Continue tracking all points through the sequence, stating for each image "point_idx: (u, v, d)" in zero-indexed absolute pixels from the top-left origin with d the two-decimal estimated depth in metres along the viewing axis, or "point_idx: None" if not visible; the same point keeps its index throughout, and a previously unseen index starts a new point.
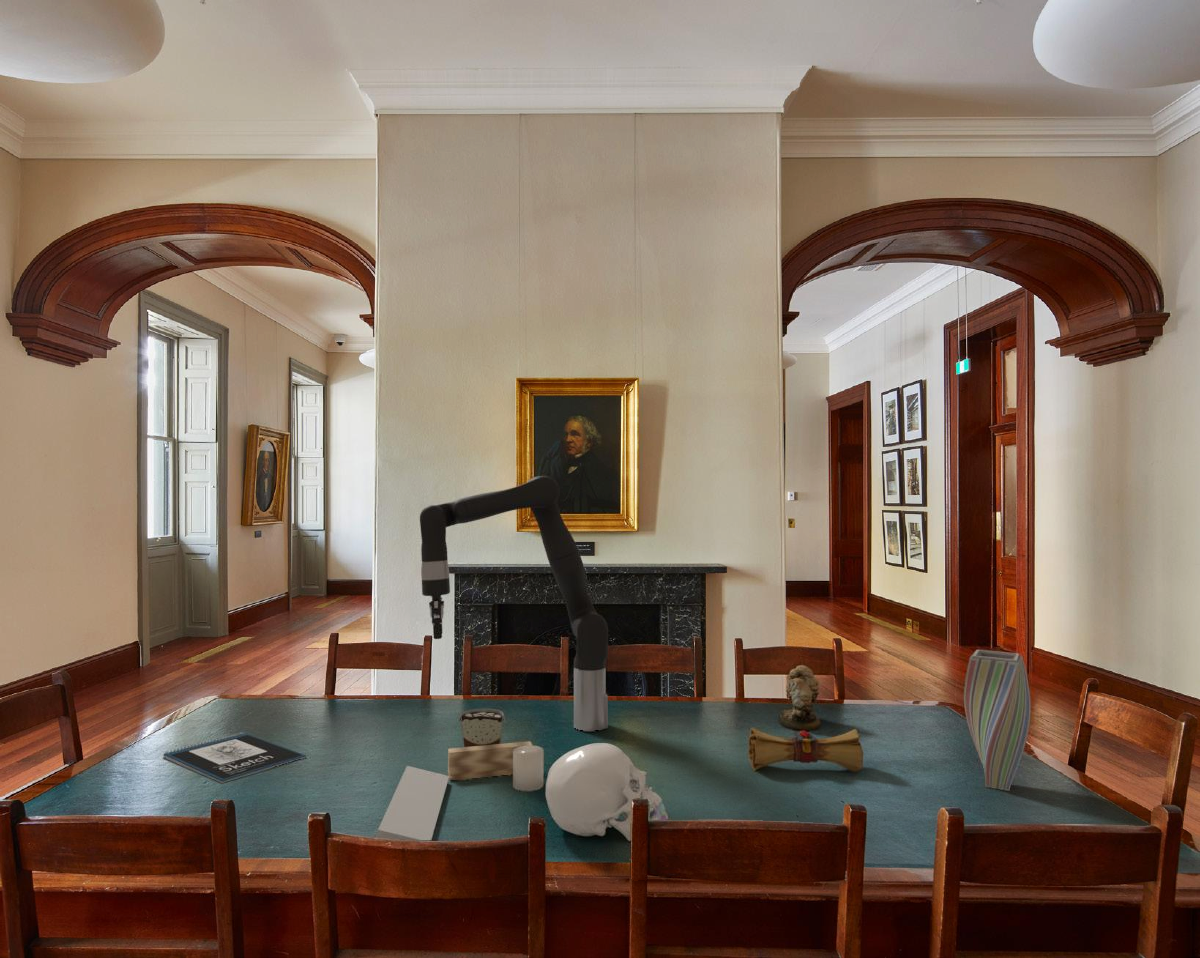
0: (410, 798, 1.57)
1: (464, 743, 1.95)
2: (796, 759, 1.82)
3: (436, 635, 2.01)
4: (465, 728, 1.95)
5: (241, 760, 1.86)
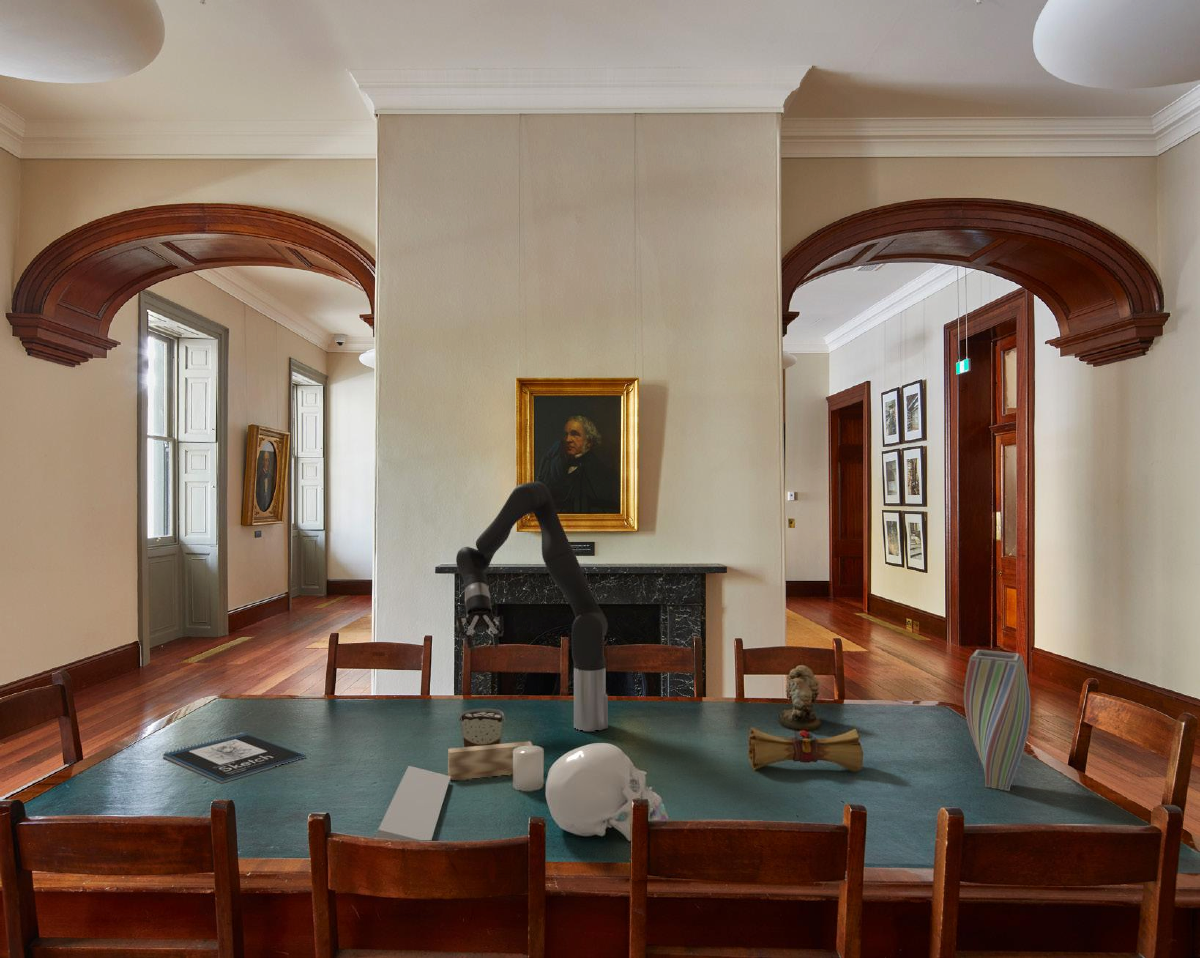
0: (411, 798, 1.57)
1: (464, 743, 1.95)
2: (796, 759, 1.82)
3: (467, 646, 2.15)
4: (465, 728, 1.95)
5: (241, 760, 1.86)
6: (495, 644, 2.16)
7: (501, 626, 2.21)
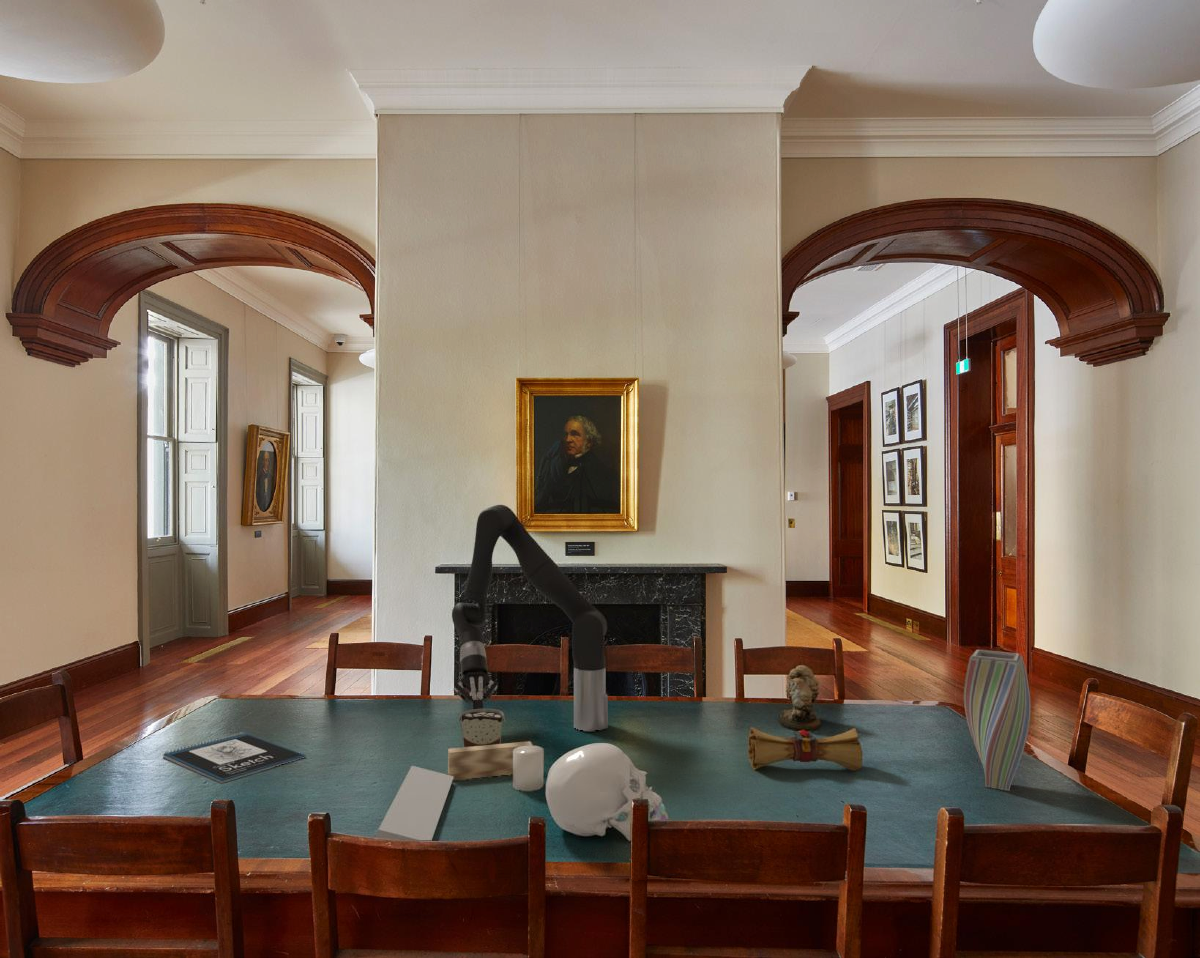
0: (413, 798, 1.57)
1: (464, 743, 1.95)
2: (796, 758, 1.82)
3: None
4: (465, 728, 1.95)
5: (241, 760, 1.87)
6: None
7: (488, 691, 2.12)
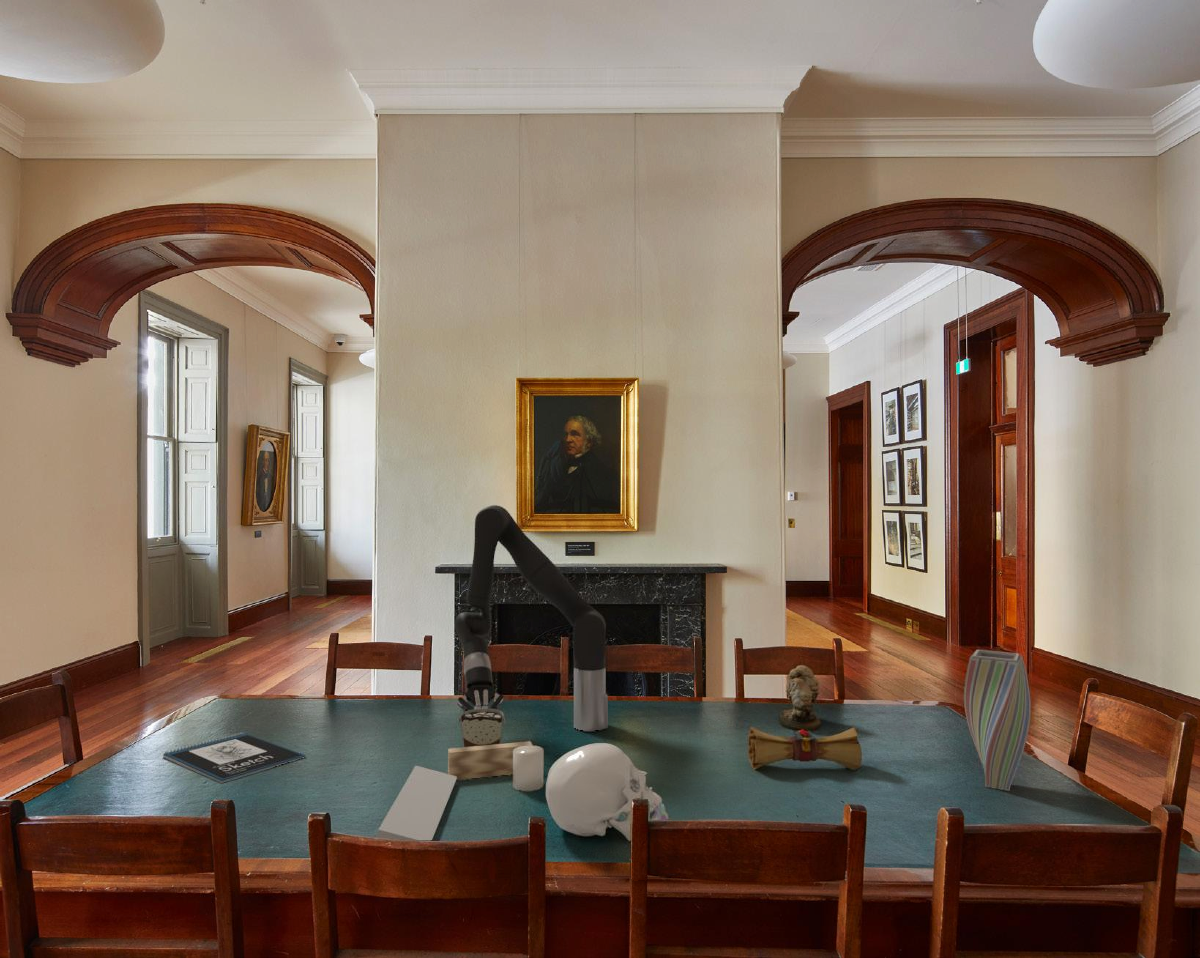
0: (415, 798, 1.57)
1: (464, 743, 1.95)
2: (795, 758, 1.83)
3: None
4: (465, 728, 1.95)
5: (241, 760, 1.87)
6: None
7: (494, 705, 2.04)
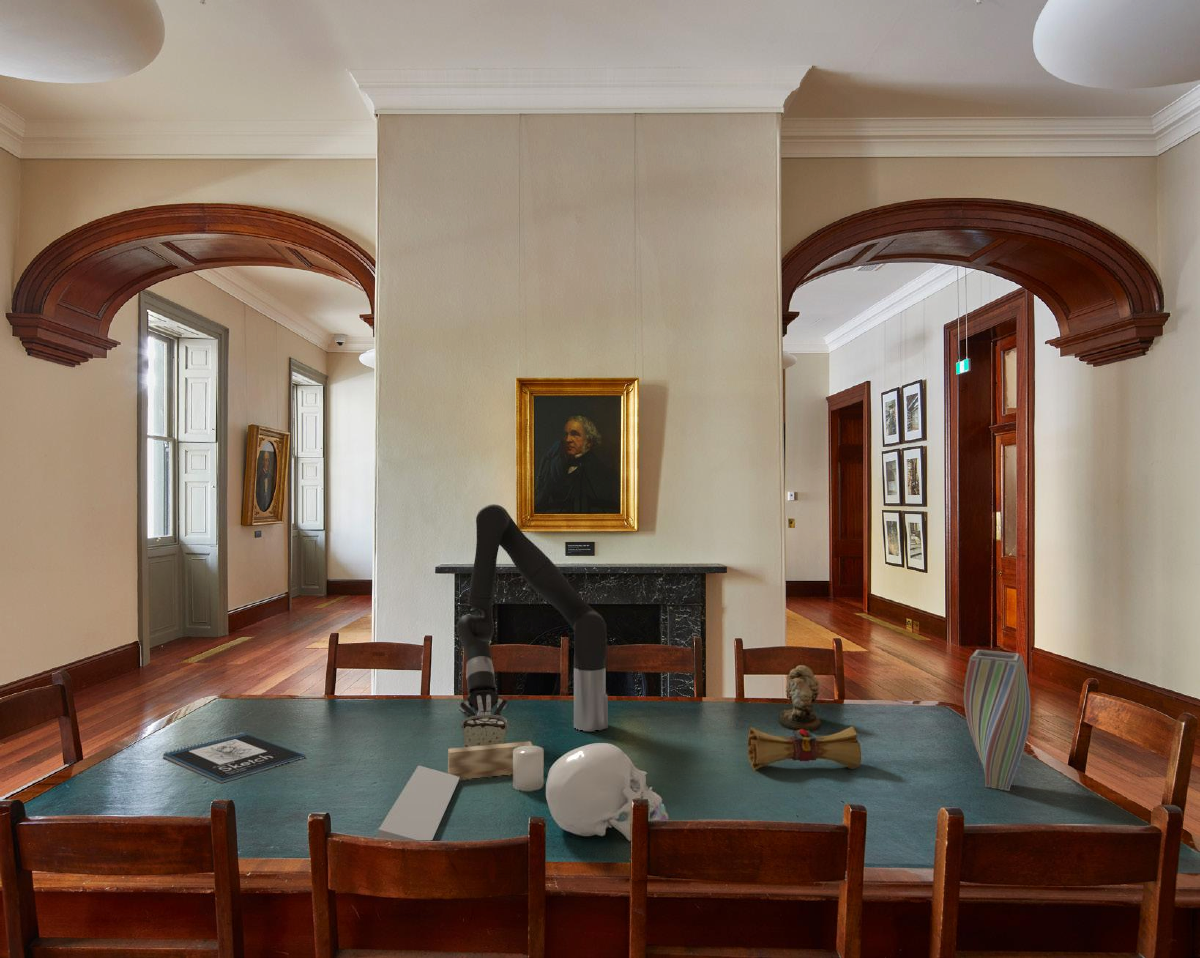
0: (417, 798, 1.57)
1: None
2: (796, 758, 1.83)
3: None
4: (468, 735, 1.89)
5: (241, 760, 1.87)
6: None
7: (497, 711, 1.98)
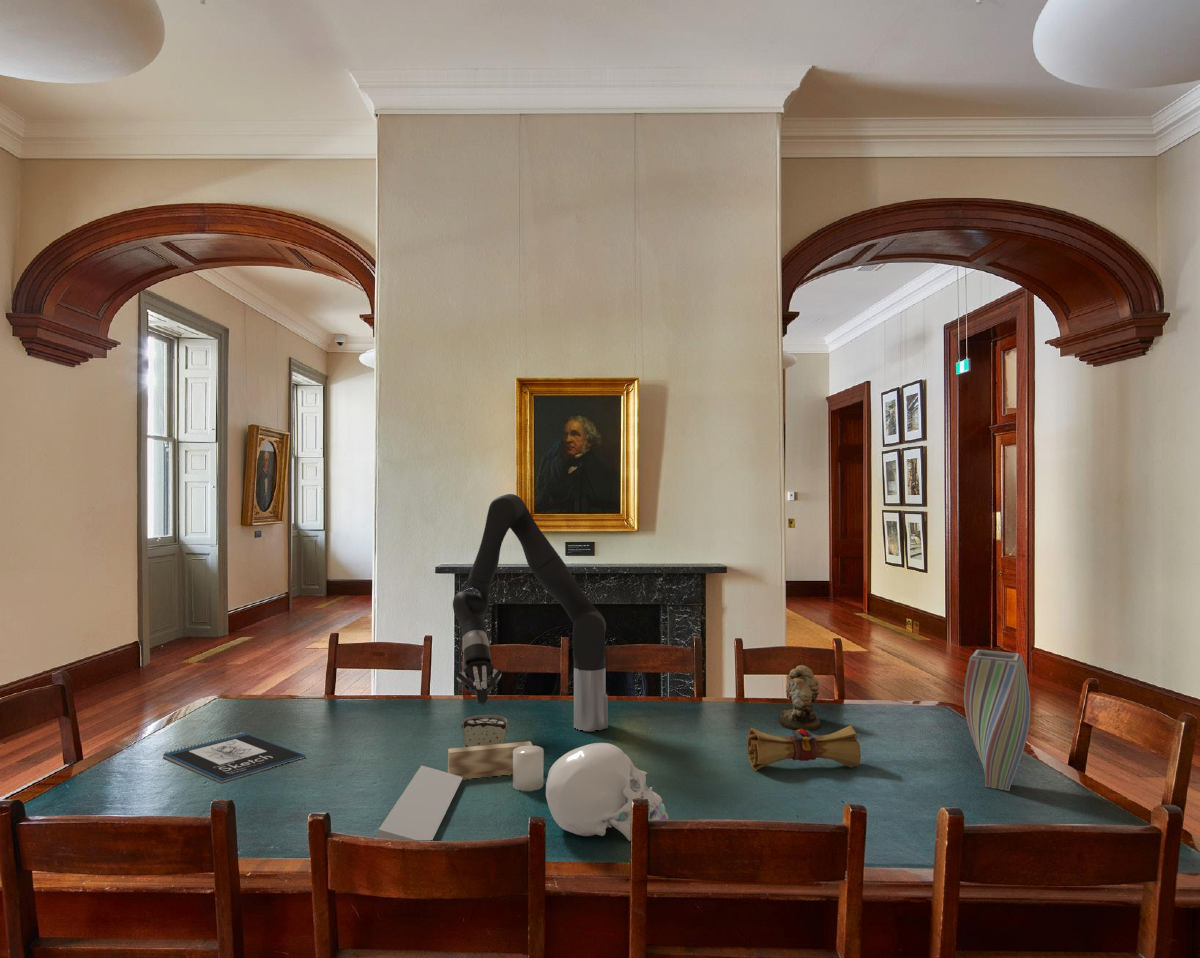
0: (418, 798, 1.57)
1: None
2: (796, 757, 1.83)
3: (477, 701, 2.04)
4: (468, 735, 1.89)
5: (241, 760, 1.87)
6: (484, 700, 2.03)
7: (492, 680, 2.08)
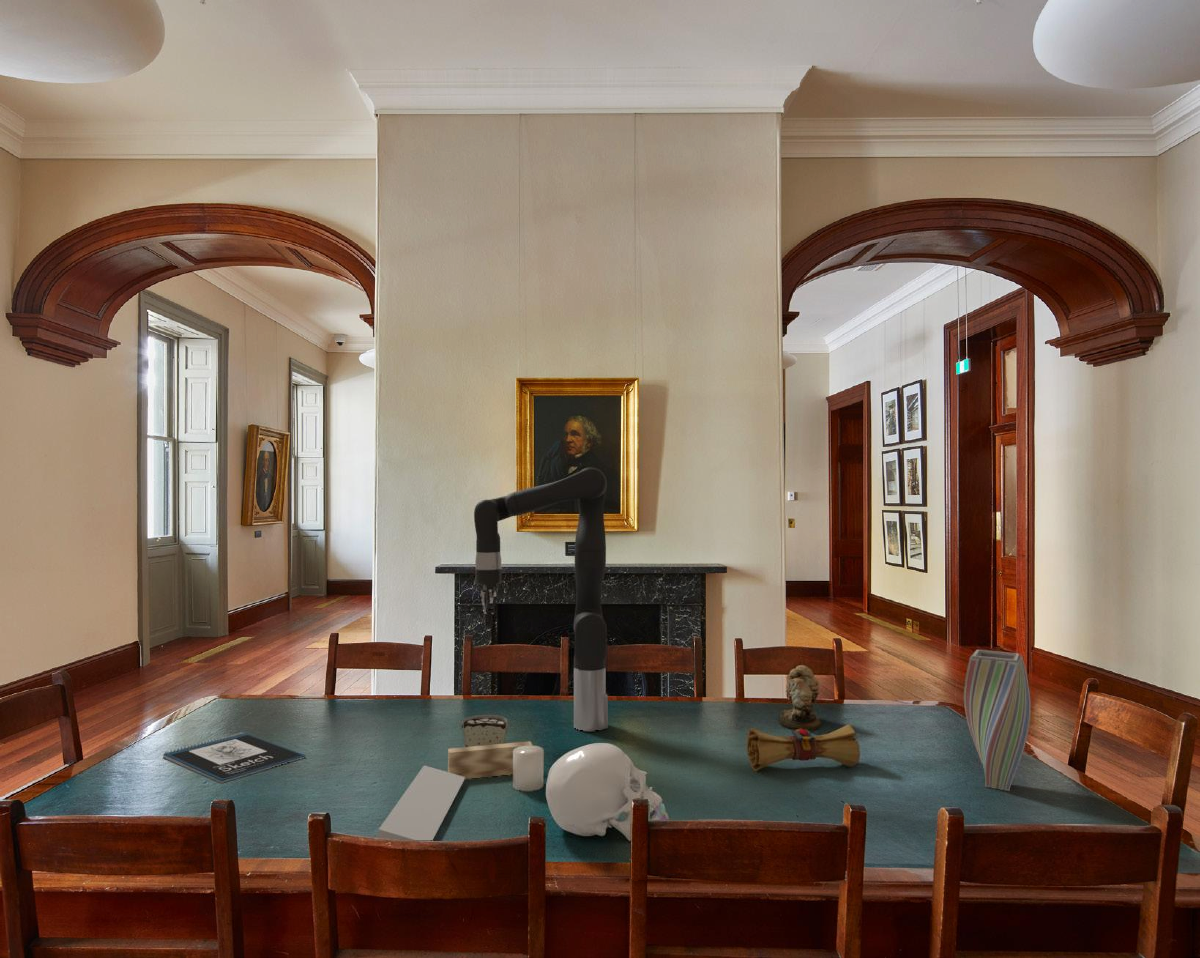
0: (420, 798, 1.57)
1: None
2: (796, 757, 1.83)
3: (488, 624, 2.19)
4: (468, 735, 1.89)
5: (241, 760, 1.87)
6: None
7: None
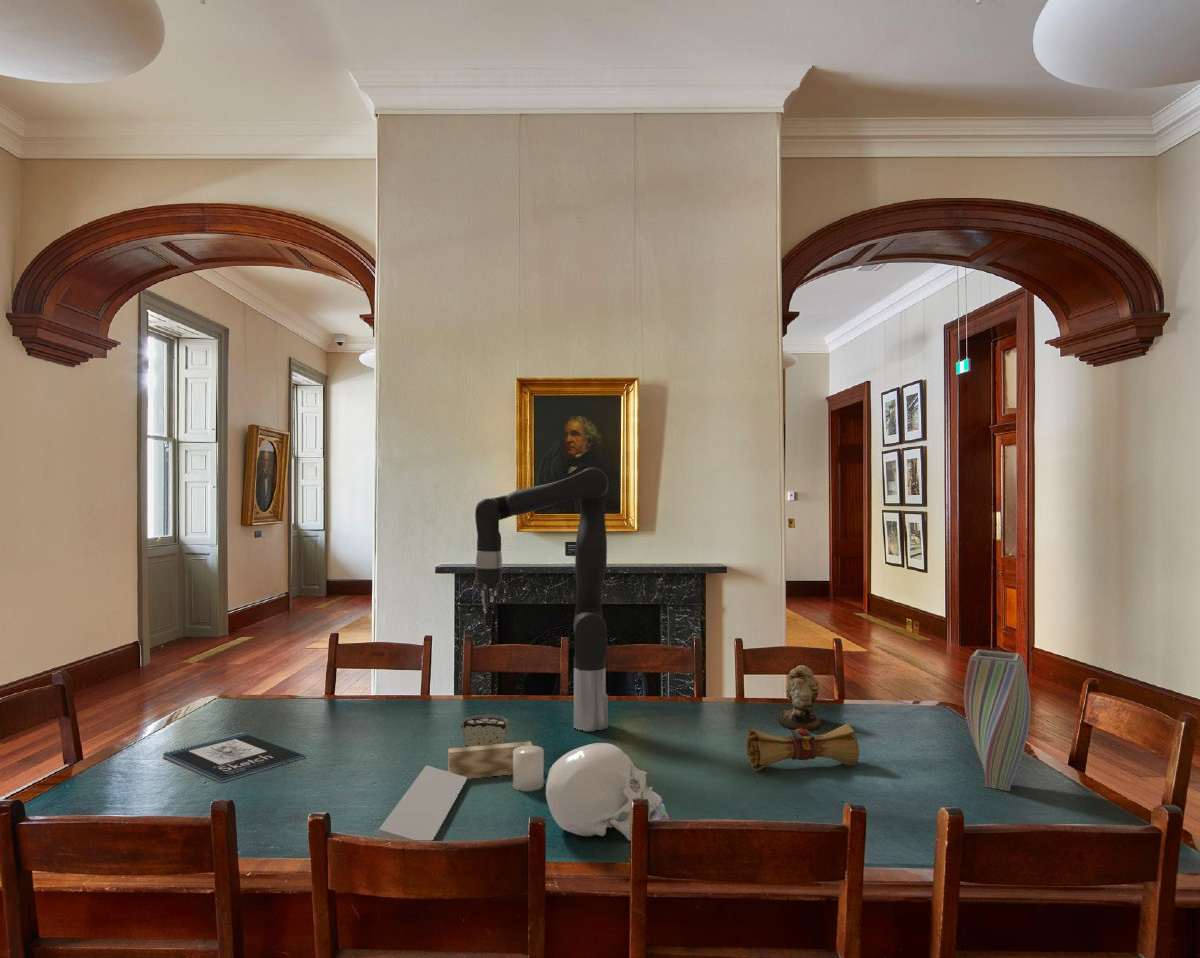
0: (421, 798, 1.57)
1: None
2: (796, 757, 1.83)
3: (488, 622, 2.19)
4: (468, 735, 1.89)
5: (241, 760, 1.87)
6: None
7: None
